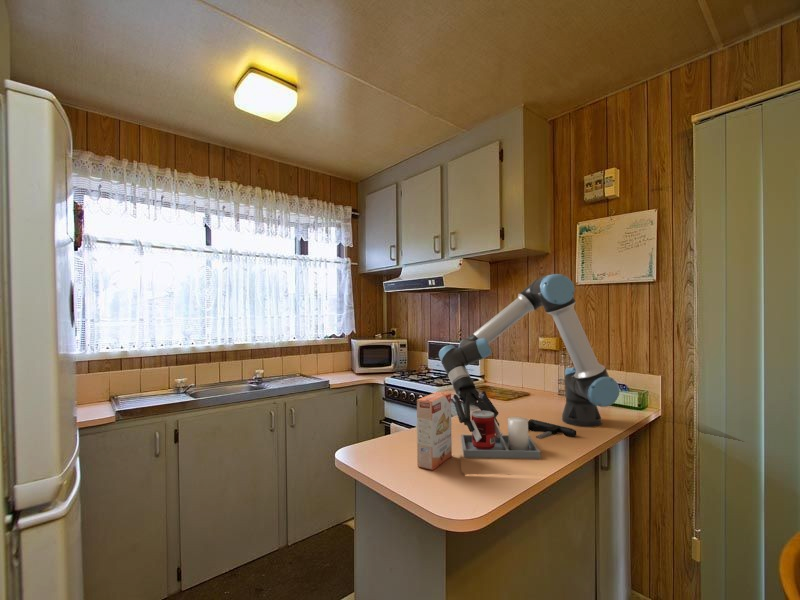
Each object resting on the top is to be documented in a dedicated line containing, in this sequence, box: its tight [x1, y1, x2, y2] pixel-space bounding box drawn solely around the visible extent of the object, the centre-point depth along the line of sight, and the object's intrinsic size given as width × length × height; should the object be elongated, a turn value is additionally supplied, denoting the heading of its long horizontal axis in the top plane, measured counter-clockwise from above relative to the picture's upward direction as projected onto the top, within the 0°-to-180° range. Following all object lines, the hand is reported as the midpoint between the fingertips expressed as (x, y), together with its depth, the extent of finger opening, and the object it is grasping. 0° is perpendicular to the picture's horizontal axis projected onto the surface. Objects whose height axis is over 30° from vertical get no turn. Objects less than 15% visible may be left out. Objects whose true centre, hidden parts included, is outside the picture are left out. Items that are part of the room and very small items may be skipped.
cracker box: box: [416, 391, 453, 471], centre depth 122 cm, size 14×6×21 cm, turn 148°
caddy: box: [460, 434, 542, 460], centre depth 130 cm, size 24×16×3 cm, turn 84°
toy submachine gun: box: [528, 418, 577, 439], centre depth 148 cm, size 3×20×16 cm
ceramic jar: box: [507, 416, 530, 451], centre depth 129 cm, size 7×7×10 cm
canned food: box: [471, 409, 496, 449], centre depth 131 cm, size 8×8×11 cm
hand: (489, 437), depth 127 cm, fingers closed on canned food, 8 cm apart
